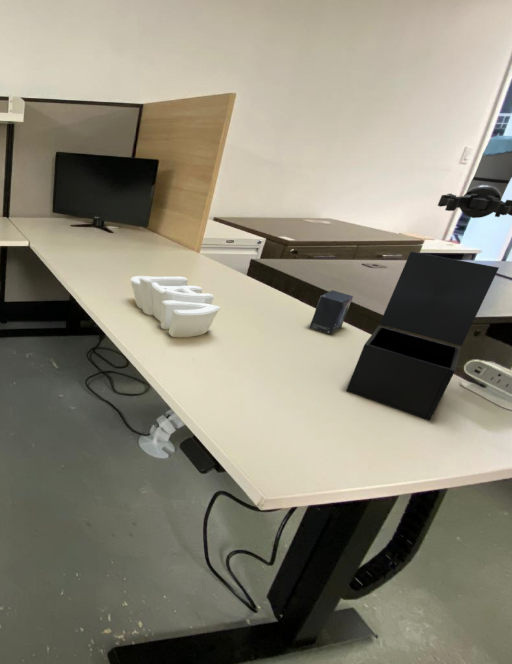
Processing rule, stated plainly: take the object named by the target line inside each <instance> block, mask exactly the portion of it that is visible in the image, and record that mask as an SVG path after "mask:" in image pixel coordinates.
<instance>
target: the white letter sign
mask: <svg viewBox="0 0 512 664" xmlns="http://www.w3.org/2000/svg"><path fill="white" fill-rule="evenodd" d="M188 281H189V280H188V279H187V278H186V277H184V276H181V275H179V276H148V275H135V276H132V277H130V283H131V287H132V291H133V295H134V300H135V305H136V307H137V308H138V309H140V310H142V312H143V313H144V314H146V315H148V316H154V318H155V319H157V320H158V321H159V322H160V328H161V329H162V330H168V335H170V336H171V337H172V338H192V337H197V336H201V335H204V334H205V333H207V332H208V331H209V330H210V327H211V326H212V324H213V321H214V320H215V318H216V316H217V314H218V312H219V310H220V309H221V307H220V305H214V304H212V303H213V301H214V298H215V296H214V295H213V294H212V293H210V292H206V293H203V288H202V287H200V286H198V285H188V283H189V282H188Z"/></svg>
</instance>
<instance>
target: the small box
mask: <svg viewBox="0 0 512 664" xmlns="http://www.w3.org/2000/svg"><path fill="white" fill-rule="evenodd" d="M353 298H354V296H353V295H350V294H347V293H344V292H340V291H337V290H334V289H332V290H329V291H327V292H326V293H323V294H321V295H320V296H319V299H318V302H317V305H316V307H315V309H314V313H313V316H312V319H311V322H310V324H309V327H308V329H311V330H313V331H317V332H320V333H323V334H326V335H329V336H331V335H332V334H333V333H335V332H336V331H338V330H340V329H341V328H342V327H343V324H344V321H345V319H346V316H347V313H348V311H349V308H350V305H351V303H352V301H353Z"/></svg>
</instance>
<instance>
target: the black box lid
mask: <svg viewBox="0 0 512 664" xmlns="http://www.w3.org/2000/svg"><path fill="white" fill-rule="evenodd" d="M499 269H500V267H498V266H493V265H488V264H482V263H477V262H471V261H466V260H460V259H455V258H449V257H444V256H439V255H433V254H428V253H421V252H416V251H410V252H409V255H408V256H407V259H406V261H405V263H404V266H403V269H402V271H401V273H400V275H399V277H398V279H397V283H396V285H395V287H394V290H393V292H392V293H391V296H390V298H389V302H388V303H387V306H386V308H385V310H384V313H383V315H382V318H381V319H380V322H379V325H382V326H385V327H388V328H389V327H390V328H393V329H396V330H399V331H400V330H401V331H405V332H407V333H408V332H409V333H412V334H416V335H419V336H422V337H425V338H429V339H430V338H431V339H434V340H439V341H440V342H445V343H449V344H452V345H456V346H459V347H461V346H463V345H464V343H465V341H466V338H467V336H468V334H469V331H470V329H471V327H472V326H473V323H474V322H475V320H476V317H477V316H478V315H477V314H478V313H479V311H480V309H481V306H482V304H483V303H484V301H485V298H486V296H487V294H488V292H489V289H490V287H491V285H492V284H493V281H494V280H495V277H496V275H497V273H498V271H499Z"/></svg>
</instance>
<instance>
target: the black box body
mask: <svg viewBox="0 0 512 664" xmlns="http://www.w3.org/2000/svg"><path fill="white" fill-rule="evenodd" d="M361 349H362V350H361V352H360V354H359V358H358V360H357V362H356V364H355V367H354V370H353V372H352V375H351V377H350V380H349V382H348V385H347V387H346V390H345V391H346V392H347V393H350V394H352V395H355V396H358V397H362V398H365V399H367V400H370V401H372V402H376V403H378V404H381V405H384V406H387V407H390V408H393V409H395V410H398V411H401V412H404V413H406V414H409V415H412V416H414V417H417V418H419V419H424V420H426V421H429V422H431V420H432V418H433V416H434V415H435V412H436V410H437V408H438V406H439V404H440V402H441V401H442V398H443V396H444V394H445V392H446V390H447V388H448V386H449V384H450V382H451V380H452V378H453V376H454V374H455V372H456V368H457V365H458V364H457V363H458V360H459V357H460V352H461V347H460V346H455V345H453V344H452V345H451V344H448V343H444V342H442V341H436V340H433V339H430V338H427V337H423V336H420V335H419V336H418V335H414V334H411V333H408V332H403V331H400V330H398V329H394V328H393V329H392V328H389V327H386V326H383V325H382V326H381V325H378V326H377V328H376V329H375V330H374V332H373V333H372V334H371V335H370V337H369V338H368V339H367V340H366V341H365V343H364V345H363V347H362V348H361Z"/></svg>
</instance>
